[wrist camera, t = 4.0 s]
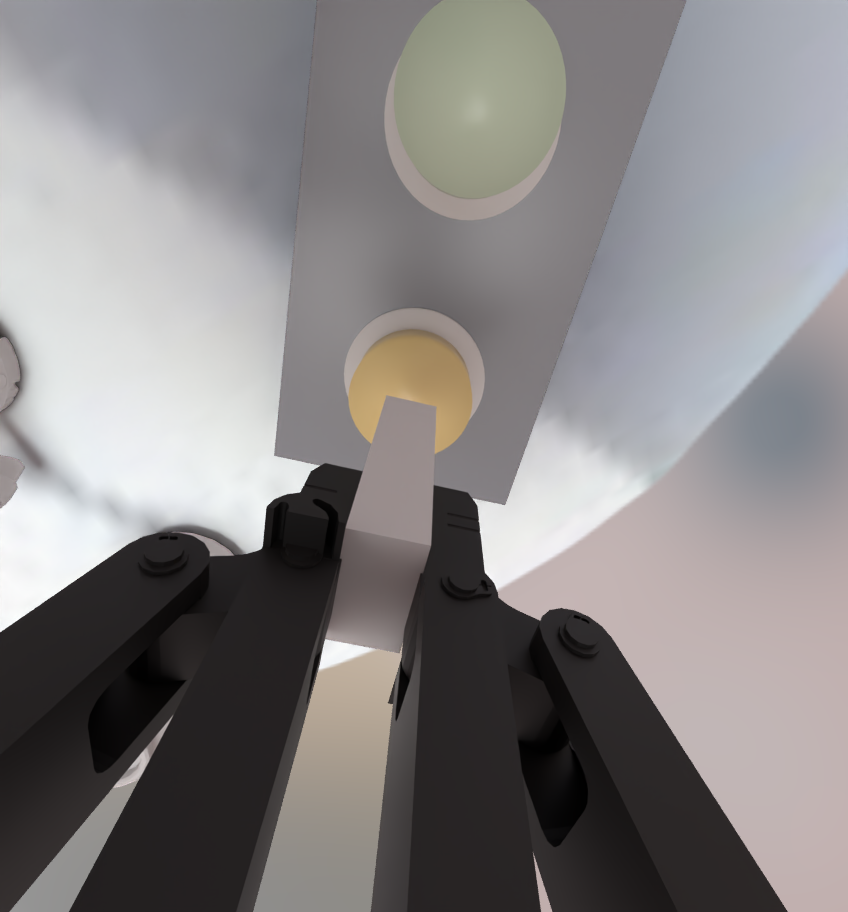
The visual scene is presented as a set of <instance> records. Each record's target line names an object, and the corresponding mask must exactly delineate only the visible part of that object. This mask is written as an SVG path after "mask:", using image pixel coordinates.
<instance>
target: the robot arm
mask: <svg viewBox="0 0 848 912" xmlns="http://www.w3.org/2000/svg"><path fill="white" fill-rule="evenodd" d="M436 408H437V407H436V406H432V405H427V404H423V403H419V402H414V401H410V400H405V399H401V398H397V397H392V396H388V395H386V398H385V402H384V405H383V408H382V411H381V415H380V418H379V421H378V424H377V427H376V431H375V434H374V437H373V440H372V444H371V447H370V450H369V453H368V457H367V460H366V463H365V466H364V470H363V471H360V470H355V469H351V468H346V467H341V466H337V465H332V464H328V463H324V464H322V465H321V466H319V467H318V468H316V469H314V470H313V471H311V473H310V475H309V477H308V479H307V481H306V482H305V485H304V486H303V488H302V490H301V492H300V493H294V494H286V495H284V496H281V497H279V498H276V499H274V500H273V501H272V502H271V503H270V504H269V505H268V506H267V509H266V519H265V530H264V541H263V547H262V549H261V550H259V551H256V552H252V553H248V554H243V555H232V556H210V551H209V549H208V548H207V546H206V545H205V543H204V542H203V541H201V540H199V539H198V538H196V537H194V536H192V535H187V534H183V533H179V532H168V533H157V534H153V535H148V536H144V537H142V538H140V539H138V540H136V541H134V542H132V543H130V544H128V545H126V546H125V547H124V548H122V549H121V550H119V551H118V552H116V553H115V554H113V555H112V556H111V557H109V558H108V559H106V560H105V561H103V562H102V563H100V564H99V565H97V566H96V567H95V568H93V569H92V570H90V571H89V572H87V573H86V574H84V575H83V576H81V577H80V578H79V579H77V580H76V581H74V582H73V583H71V584H70V585H68V586H67V587H66V588H64V589H63V590H61V591H60V592H58V593H57V594H55V595H54V596H52V597H51V598H50V599H48V600H47V601H45V602H44V603H42V604H41V605H39V606H38V607H36V608H35V609H34V610H32V611H31V612H29V613H28V614H26V615H25V616H23V617H22V618H21V619H19V620H18V621H16V622H15V623H13V624H12V625H10V626H9V627H7V628H6V629H5V630H3V631H2V632H0V912H9V911H10V910H11V909H12V908H13V907H14V905H15V904H16V903H17V901H19V899H20V898H21V897H22V896H23V895H24V893H25V892H26V891H27V889H29V887H30V886H31V885H32V884H33V883H34V881H35V880H36V879H37V878H38V877H39V875H40V874H41V873H42V872H43V871H44V869H45V868H46V867H47V865H49V863H50V862H51V861H52V860H53V859H54V857H55V856H56V855H57V854H58V853H59V851H60V850H61V849H62V848H63V847H64V845H65V844H66V843H67V842H68V841H69V839H70V838H71V837H72V836H73V835H74V833H75V832H76V831H77V830H78V829H79V828H80V826H81V825H82V824H83V823H84V822H85V820H86V819H87V818H88V817H89V815H90V814H91V813H92V812H93V811H94V810H95V808H96V807H97V806H98V805H99V804H100V802H101V801H102V800H103V799H104V798H105V796H106V795H107V794H108V793H109V792H110V790H111V789H112V788H113V787H114V786H115V784H116V783H117V782H118V781H119V780H120V778H121V777H122V776H123V775H124V774H125V772H126V771H127V770H128V769H129V768H130V766H131V765H132V764H133V763H134V762H135V760H136V759H137V758H138V757H139V756H140V754H141V753H142V752H143V751H144V750H145V748H146V747H147V746H148V745H149V744H150V742H151V741H152V740H153V739H154V738H155V736H156V735H157V734H158V733H159V732H160V730H161V729H162V728H163V727H164V726H165V724H166V723H167V722H168V721H169V720H170V718H171V717H172V716H173V717H172V719H171V721H170V722H169V724H168V726H167V728H166V730H165V732H164V734H163V736H162V738H161V739H160V741H159V743H158V745H157V747H156V749H155V751H154V753H153V754H152V756H151V758H150V760H149V762H148V764H147V766H146V768H145V770H144V771H143V773H142V775H141V777H140V779H139V781H138V783H137V785H136V787H135V789H134V790H133V792H132V794H131V796H130V798H129V800H128V802H127V804H126V805H125V807H124V809H123V811H122V813H121V815H120V817H119V819H118V821H117V822H116V824H115V826H114V828H113V830H112V832H111V834H110V836H109V837H108V839H107V841H106V843H105V845H104V847H103V849H102V851H101V853H100V854H99V856H98V858H97V860H96V862H95V864H94V866H93V868H92V870H91V871H90V873H89V875H88V877H87V879H86V881H85V883H84V885H83V886H82V888H81V890H80V892H79V894H78V896H77V898H76V900H75V902H74V903H73V905H72V907H71V909H70V911H69V912H253V910H254V906H255V902H256V899H257V895H258V891H259V887H260V883H261V880H262V876H263V873H264V869H265V865H266V861H267V858H268V854H269V850H270V847H271V843H272V839H273V835H274V831H275V828H276V824H277V821H278V816H279V813H280V810H281V806H282V802H283V798H284V794H285V791H286V787H287V784H288V780H289V776H290V772H291V768H292V765H293V761H294V757H295V754H296V750H297V746H298V742H299V739H300V735H301V732H302V728H303V724H304V720H305V717H306V713H307V709H308V705H309V702H310V698H311V694H312V691H313V687H314V683H315V680H316V676H317V672H318V669H319V665H320V660H321V655H322V649H323V644H324V641H325V639H328V640H333V641H338V642H343V643H349V644H354V645H359V646H364V647H369V648H375V649H380V650H386V651H390V652H396V653H400V650H401V646H402V643H403V648H402V658H401V662H400V665H399V668H398V672H397V675H396V679H395V682H394V685H393V688H392V692H391V695H390V699H389V702H388V703H390V704H393V709H392V718H391V727H390V737H389V746H388V756H387V765H386V775H385V784H384V793H383V803H382V813H381V822H380V831H379V840H378V850H377V859H376V868H375V878H374V887H373V897H372V906H371V912H541V909H540V901H539V894H538V886H537V880H536V871H535V864H534V857H533V853H534V856H535V859H536V862H537V865H538V868H539V871H540V874H541V878H542V881H543V883H544V887H545V890H546V892H547V896H548V899H549V902H550V905H551V908H552V912H787V910H786V908H785V907H784V905H783V904H782V902H781V901H780V899H779V897H778V896H777V894H776V893H775V891H774V890H773V888H772V887H771V885H770V883H769V882H768V880H767V879H766V877H765V876H764V874H763V873H762V871H761V870H760V868H759V866H758V865H757V863H756V862H755V860H754V859H753V857H752V856H751V854H750V852H749V851H748V849H747V848H746V846H745V845H744V843H743V841H742V840H741V838H740V837H739V835H738V834H737V832H736V831H735V829H734V827H733V826H732V824H731V823H730V821H729V820H728V818H727V816H726V815H725V814H724V812H723V810H722V809H721V807H720V806H719V804H718V802H717V801H716V799H715V798H714V797H713V795H712V793H711V792H710V790H709V788H708V787H707V785H706V784H705V782H704V781H703V779H702V778H701V776H700V774H699V773H698V772H697V770H696V768H695V767H694V765H693V764H692V762H691V760H690V759H689V757H688V756H687V754H686V753H685V751H684V750H683V748H682V746H681V745H680V743H679V742H678V740H677V739H676V737H675V736H674V734H673V732H672V731H671V729H670V728H669V726H668V725H667V723H666V721H665V720H664V718H663V717H662V715H661V714H660V712H659V711H658V709H657V708H656V706H655V704H654V703H653V701H652V700H651V698H650V697H649V695H648V693H647V692H646V690H645V689H644V687H643V686H642V684H641V683H640V681H639V680H638V678H637V676H636V675H635V674H634V672H633V670H632V669H631V667H630V665H629V664H628V662H627V661H626V659H625V658H624V656H623V655H622V653H621V651H620V650H619V648H618V647H617V645H616V644H615V642H614V641H613V639H612V638H611V636H610V635H609V634H608V633H607V632H606V631H605V629H604V628H603V627H602V626H600V625H599V624H598V623H596V622H595V621H594V620H592V619H591V618H590V617H588V616H586V615H583V614H581V613H579V612H577V611H574V610H568V609H563V608H560V609H554V610H549V611H548V612H547V613H546V614H545V615H543V616H542V618H541V620H540V621H539V620H537V619H535V618H533V617H531V616H528V615H526V614H524V613H522V612H520V611H518V610H516V609H514V608H512V607H510V606H509V605H507V604H506V603H504V602H503V601H502V600H501V599H499V598H498V592H497V590H496V587H495V585H494V583H493V581H492V580H491V579H490V578H489V577H488V576H487V575H486V574H485V571H484V562H483V553H482V544H481V535H480V526H479V522H478V520H479V517H478V508H477V505H476V503H475V502H474V500H473V499H472V498H471V496H470V495H469V493H468V492H464V491H459V490H455V489H450V488H445V487H441V486H436V485H434V459H435V433H436Z"/></svg>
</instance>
